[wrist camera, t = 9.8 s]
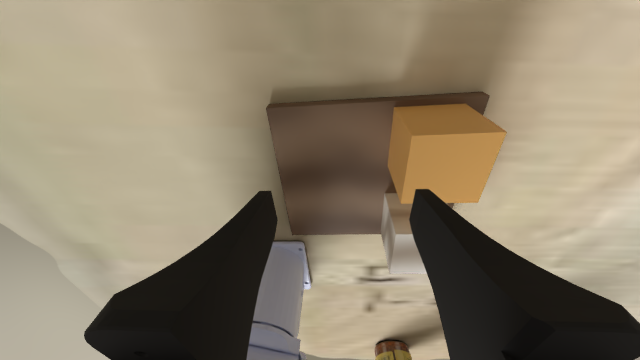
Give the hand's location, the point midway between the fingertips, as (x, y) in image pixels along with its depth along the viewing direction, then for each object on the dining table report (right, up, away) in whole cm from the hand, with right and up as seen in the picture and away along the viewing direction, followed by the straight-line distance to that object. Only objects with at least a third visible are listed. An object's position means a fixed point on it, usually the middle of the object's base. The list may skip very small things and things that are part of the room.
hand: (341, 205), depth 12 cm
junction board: (+3, +2, +10) cm, 11 cm away
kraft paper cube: (+7, +5, +6) cm, 11 cm away
